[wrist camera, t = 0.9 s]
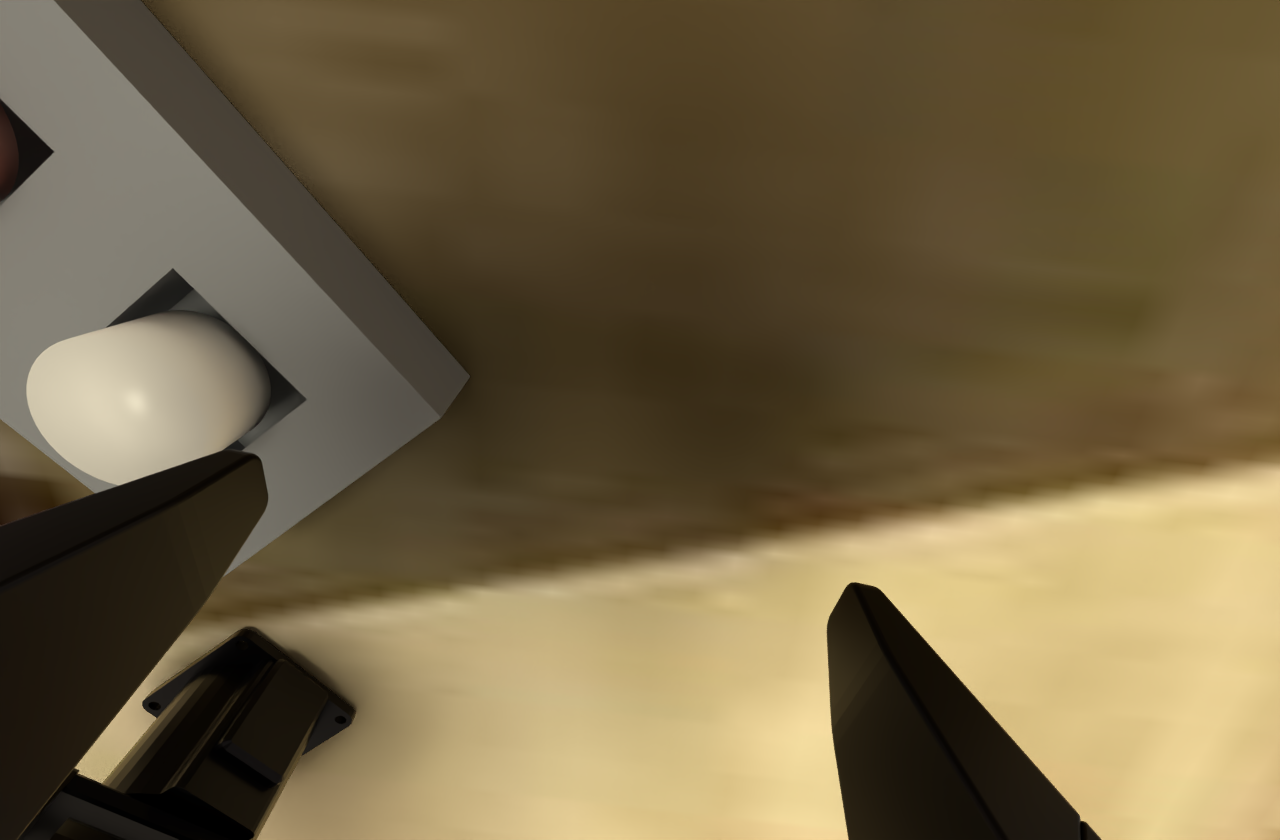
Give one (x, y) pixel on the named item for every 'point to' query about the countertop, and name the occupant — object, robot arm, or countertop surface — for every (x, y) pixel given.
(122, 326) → the button pale
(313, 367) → the button panel
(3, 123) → the button red middle
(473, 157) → the countertop surface
